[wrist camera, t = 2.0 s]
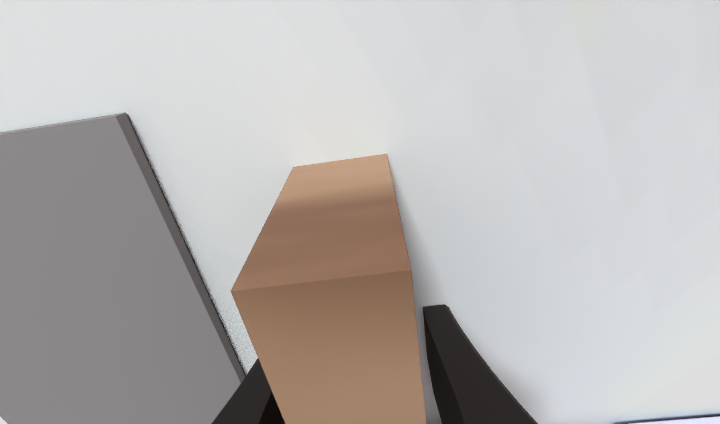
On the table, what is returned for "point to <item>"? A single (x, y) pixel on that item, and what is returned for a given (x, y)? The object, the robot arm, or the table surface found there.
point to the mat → (100, 287)
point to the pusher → (335, 299)
